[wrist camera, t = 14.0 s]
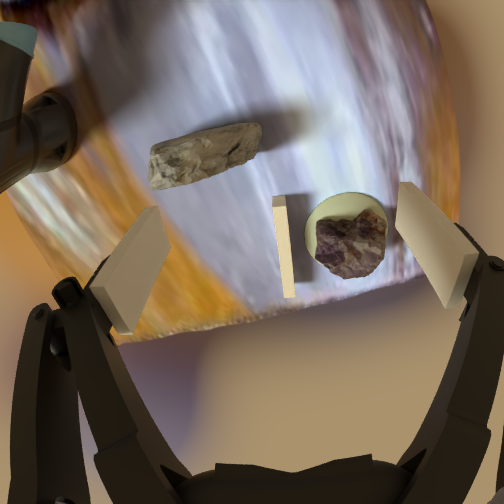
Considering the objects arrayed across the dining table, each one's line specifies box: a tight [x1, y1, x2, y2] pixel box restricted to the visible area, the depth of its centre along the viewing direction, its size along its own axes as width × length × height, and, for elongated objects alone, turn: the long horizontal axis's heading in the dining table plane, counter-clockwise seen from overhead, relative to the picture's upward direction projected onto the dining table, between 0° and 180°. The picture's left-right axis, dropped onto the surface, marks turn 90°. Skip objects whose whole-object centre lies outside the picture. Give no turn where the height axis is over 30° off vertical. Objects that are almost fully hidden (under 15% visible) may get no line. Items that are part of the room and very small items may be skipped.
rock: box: [315, 209, 387, 279], centre depth 43 cm, size 12×9×10 cm
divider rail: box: [272, 195, 295, 298], centre depth 48 cm, size 2×18×4 cm, turn 9°
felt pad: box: [304, 193, 388, 265], centre depth 47 cm, size 15×15×1 cm
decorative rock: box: [148, 122, 263, 190], centre depth 34 cm, size 16×7×15 cm, turn 100°
